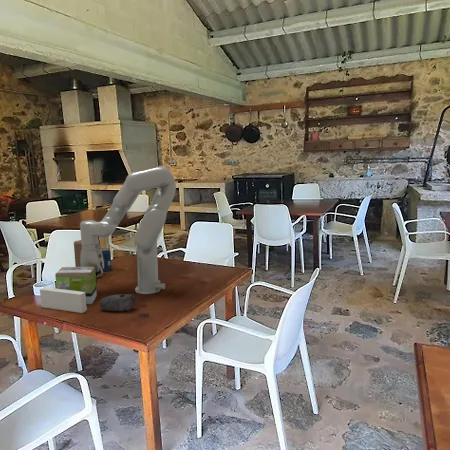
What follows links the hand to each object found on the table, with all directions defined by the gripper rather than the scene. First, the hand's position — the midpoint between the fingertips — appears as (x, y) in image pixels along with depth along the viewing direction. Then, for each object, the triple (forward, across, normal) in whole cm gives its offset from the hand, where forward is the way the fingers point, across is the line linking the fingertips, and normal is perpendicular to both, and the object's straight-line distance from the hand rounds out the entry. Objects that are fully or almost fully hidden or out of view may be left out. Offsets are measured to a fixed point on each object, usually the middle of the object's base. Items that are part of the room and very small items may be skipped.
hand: (93, 284), depth 187 cm
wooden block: (+4, +17, -20) cm, 26 cm away
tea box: (+4, +1, +11) cm, 12 cm away
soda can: (+4, +16, -34) cm, 38 cm away
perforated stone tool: (+4, -22, +15) cm, 27 cm away
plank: (+4, +1, +20) cm, 21 cm away
